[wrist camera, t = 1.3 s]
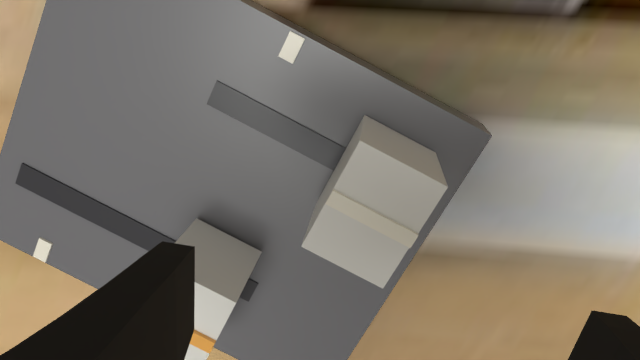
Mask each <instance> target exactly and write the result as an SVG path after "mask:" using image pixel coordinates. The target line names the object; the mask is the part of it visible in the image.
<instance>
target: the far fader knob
mask: <svg viewBox="0 0 640 360" xmlns="http://www.w3.org/2000/svg"><path fill="white" fill-rule="evenodd" d="M175 243H176V244H182V245H188V246H195V305H194V332H193V335H192V338H191V341H190V344H189V347H188V350H187V353H186V356H185V359H184V360H206V359H207V357H208V356H209V354H210V352H211V350H212V348H213V346H214V344H215V342H216V340H217V339H218V337H219V335H220V333H221V331H222V329H223V327H224V325H225V323H226V322H227V320H228V318H229V316H230V314H231V312H232V310H233V308H234V306H235V304H236V303H237V301H238V299H239V297H240V295H241V293H242V291H243V289H244V287H245V285H246V283H247V281H248V279H249V277H250V275H251V273H252V271H253V269H254V267H255V265H256V263H257V261H258V259H259V257H260V255H261V253H262V252H261V251H259V250H257V249H256V248H254V247H252V246H250V245H248V244H246V243H244V242H242V241H240V240H238V239H236V238H234V237H232V236H230V235H228V234H226V233H224V232H222V231H220V230H218V229H217V228H215V227H213V226H211V225H209V224H207V223H205V222H203V221H201V220H199V219H197V218H196V220H195V221H194V222H193V223H192V224H191V225H190V226H189V227H188V228H187V230H186V231H185V232H184V233H183V234H182V235H181V236H180V237H179V239H178V240H177V241H176V242H175Z"/></svg>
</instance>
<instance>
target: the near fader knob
mask: <svg viewBox="0 0 640 360" xmlns="http://www.w3.org/2000/svg"><path fill="white" fill-rule="evenodd" d="M447 188H448V185H447V183H446V180H445V177H444V174H443V172H442V169H441V166H440V163H439V161H438V158H437V155H436V153H435V152H433V151H432V150H430V149H428V148H426V147H424V146H422V145H420V144H418V143H417V142H415V141H413V140H411V139H409V138H407V137H405V136H403V135H401V134H400V133H398V132H396V131H394V130H392V129H390V128H388V127H386V126H385V125H383V124H381V123H379V122H377V121H375V120H373V119H371V118H369V117H368V116H366V115H364V117H363V119H362V121H361V122H360V124H359V126H358V128H357V130H356V131H355V133H354V135H353V137H352V139H351V141H350V142H349V144H348V146H347V148H346V150H345V152H344V153H343V155H342V157H341V159H340V161H339V162H338V164H337V166H336V168H335V170H334V172H333V173H332V175H331V177H330V179H329V181H328V183H327V184H326V186H325V188H324V190H323V192H322V193H321V195H320V197H319V199H318V201H317V203H316V205H315V208H314V211H313V214H312V217H311V219H310V222H309V225H308V228H307V231H306V234H305V237H304V240H303V243H302V245H301V247H303V248H305V249H307V250H309V251H311V252H313V253H314V254H316V255H318V256H320V257H322V258H324V259H326V260H328V261H330V262H332V263H334V264H336V265H338V266H340V267H342V268H344V269H345V270H347V271H349V272H351V273H353V274H355V275H357V276H359V277H361V278H363V279H365V280H367V281H369V282H371V283H373V284H375V285H377V286H378V287H380V288H382V289H383V288H384V286H385V285H386V283H387V282H388V280H389V279H390V277H391V275H392V274H393V272H394V271H395V269H396V268H397V266H398V265H399V263H400V261H401V260H402V258H403V257H404V255H405V254H406V252H407V250H408V249H409V248H411V247H412V245H413V244H414V242H415V241H416V239H417V237H418V236H419V235H418V233H419V232H420V230H421V229H422V227H423V225H424V224H425V222H426V221H427V219H428V218H429V216H430V214H431V213H432V211H433V210H434V208H435V207H436V205H437V204H438V202H439V200H440V199H441V197H442V196H443V194H444V193H445V191H446V189H447Z"/></svg>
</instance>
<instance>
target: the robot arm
mask: <svg viewBox="0 0 640 360" xmlns="http://www.w3.org/2000/svg"><path fill="white" fill-rule="evenodd" d="M194 305H195V246H188V245H182V244H176V243H170V242H164V241H162V242H161V243H159V244H158V245H156V246H155V247H154V248H152V249H151V250H150V251H148V252H147V253H146V254H144V255H143V256H142V257H140V258H139V259H138V260H136V261H135V262H134V263H132V264H131V265H130V266H129V267H127V268H126V269H125V270H123V271H122V272H121V273H119V274H118V275H117V276H115V277H114V278H113V279H111V280H110V281H109V282H107V283H106V284H105V285H103V286H102V287H101V288H99V289H98V290H97V291H95V292H94V293H92V294H91V295H90V296H88V297H87V298H85V299H84V300H83V301H81V302H80V303H79V304H77V305H76V306H74V307H73V308H72V309H70V310H69V311H67V312H66V313H65V314H63V315H62V316H60V317H59V318H57V319H56V320H54V321H53V322H51V323H50V324H48V325H47V326H45V327H44V328H42V329H41V330H39V331H38V332H36V333H35V334H33V335H32V336H30V337H29V338H27V339H26V340H24V341H22V342H21V343H19V344H18V345H16V346H15V347H13V348H12V349H10V350H9V351H7V352H5V353H4V354H2V355H0V360H184V359H185V356H186V353H187V350H188V347H189V344H190V341H191V338H192V335H193V332H194ZM568 360H640V327H639V326H638V325H637V324H636V323H635V322H633V321H632V320H631V319H630V318H628V317H627V316H623V315H616V314H610V313H604V312H598V311H591V314H590V316H589V318H588V320H587V322H586V324H585V326H584V328H583V330H582V332H581V334H580V336H579V338H578V340H577V342H576V344H575V346H574V348H573V350H572V352H571V354H570V357H569V359H568Z"/></svg>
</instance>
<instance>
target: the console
mask: <svg viewBox="0 0 640 360" xmlns="http://www.w3.org/2000/svg"><path fill="white" fill-rule="evenodd" d="M364 115H366V116H368V117H369V118H371V119H373V120H375V121H377V122H379V123H381V124H383V125H385V126H386V127H388V128H390V129H392V130H394V131H396V132H398V133H400V134H401V135H403V136H405V137H407V138H409V139H411V140H413V141H415V142H417V143H418V144H420V145H422V146H424V147H426V148H428V149H430V150H432V151H433V152H435V153H436V155H437V158H438V161H439V163H440V166H441V169H442V172H443V174H444V177H445V180H446V183H447V185H448V188H447V189H446V191H445V193H444V194H443V196H442V197H441V199H440V200H439V202H438V204H437V205H436V207H435V208H434V210H433V211H432V213H431V214H430V216H429V218H428V219H427V221H426V222H425V224H424V225H423V227H422V229H421V230H420V232H419V233H418V235H419V236H418V237H417V239H416V241H415V242H414V244H413V245H412V247H411V248H409V249H408V250H407V252H406V254H405V255H404V257H403V258H402V260H401V261H400V263H399V265H398V266H397V268H396V269H395V271H394V272H393V274H392V275H391V277H390V279H389V280H388V282H387V283H386V285H385V286H384V288H383V289H382V288H380V287H378V286H377V285H375V284H373V283H371V282H369V281H367V280H365V279H363V278H361V277H359V276H357V275H355V274H353V273H351V272H349V271H347V270H345V269H344V268H342V267H340V266H338V265H336V264H334V263H332V262H330V261H328V260H326V259H324V258H322V257H320V256H318V255H316V254H314V253H313V252H311V251H309V250H307V249H305V248H303V247H301V245H302V243H303V240H304V237H305V234H306V231H307V228H308V225H309V222H310V219H311V217H312V214H313V211H314V208H315V205H316V203H317V201H318V199H319V197H320V195H321V193H322V192H323V190H324V188H325V186H326V184H327V183H328V181H329V179H330V177H331V175H332V173H333V172H334V170H335V168H336V166H337V164H338V162H339V161H340V159H341V157H342V155H343V153H344V152H345V150H346V148H347V146H348V144H349V142H350V141H351V139H352V137H353V135H354V133H355V131H356V130H357V128H358V126H359V124H360V122H361V121H362V119H363V117H364ZM491 137H492V135H491V134H490V132H489V131H488V130H487V129H486V128H485V127H484V125H483V124H481V123H479V122H477V121H475V120H474V119H472V118H470V117H468V116H466V115H464V114H462V113H460V112H459V111H457V110H455V109H453V108H451V107H449V106H447V105H446V104H444V103H442V102H440V101H438V100H436V99H434V98H432V97H431V96H429V95H427V94H425V93H423V92H421V91H419V90H418V89H416V88H414V87H412V86H410V85H408V84H406V83H404V82H403V81H401V80H399V79H397V78H395V77H393V76H391V75H390V74H388V73H386V72H384V71H382V70H380V69H378V68H377V67H375V66H373V65H371V64H369V63H367V62H365V61H363V60H362V59H360V58H358V57H356V56H354V55H352V54H350V53H349V52H347V51H345V50H343V49H341V48H339V47H337V46H335V45H334V44H332V43H330V42H328V41H326V40H324V39H322V38H321V37H319V36H317V35H315V34H313V33H311V32H309V31H307V30H306V29H304V28H302V27H300V26H298V25H296V24H294V23H293V22H291V21H289V20H287V19H285V18H283V17H281V16H279V15H278V14H276V13H274V12H272V11H270V10H268V9H266V8H265V7H263V6H261V5H259V4H257V3H255V2H253V1H251V0H47V1H46V4H45V7H44V11H43V14H42V17H41V21H40V24H39V27H38V31H37V34H36V37H35V41H34V44H33V47H32V51H31V54H30V57H29V61H28V64H27V67H26V71H25V74H24V77H23V80H22V84H21V87H20V90H19V94H18V97H17V100H16V104H15V107H14V110H13V114H12V117H11V120H10V124H9V127H8V130H7V134H6V137H5V140H4V144H3V147H2V150H1V154H0V240H1V241H3V242H5V243H7V244H9V245H11V246H13V247H15V248H17V249H19V250H21V251H23V252H25V253H27V254H29V255H31V256H33V257H35V258H37V259H39V260H41V261H43V262H45V263H47V264H49V265H51V266H53V267H55V268H57V269H59V270H61V271H63V272H65V273H67V274H69V275H71V276H73V277H75V278H77V279H79V280H81V281H83V282H85V283H87V284H89V285H91V286H93V287H95V288H97V289H99V288H101V287H102V286H103V285H105V284H106V283H107V282H109V281H110V280H111V279H113V278H114V277H115V276H117V275H118V274H119V273H121V272H122V271H123V270H125V269H126V268H127V267H129V266H130V265H131V264H132V263H134V262H135V261H136V260H138V259H139V258H140V257H142V256H143V255H144V254H146V253H147V252H148V251H150V250H151V249H152V248H154V247H155V246H156V245H158V244H159V243H161V242H162V241H164V242H170V243H175V242H176V241H177V240H178V239H179V237H180V236H181V235H182V234H183V233H184V232H185V231H186V230H187V228H188V227H189V226H190V225H191V224H192V223H193V222H194V221H195V220H196V218H197V219H199V220H201V221H203V222H205V223H207V224H209V225H211V226H213V227H215V228H217V229H218V230H220V231H222V232H224V233H226V234H228V235H230V236H232V237H234V238H236V239H238V240H240V241H242V242H244V243H246V244H248V245H250V246H252V247H254V248H256V249H257V250H259V251H261V252H262V253H261V255H260V257H259V259H258V261H257V263H256V265H255V267H254V269H253V271H252V273H251V275H250V277H249V279H248V281H247V283H246V285H245V287H244V289H243V291H242V293H241V295H240V297H239V299H238V301H237V303H236V304H235V306H234V308H233V310H232V312H231V314H230V316H229V318H228V320H227V322H226V323H225V325H224V327H223V329H222V331H221V333H220V335H219V337H218V339H217V340H216V342H215V344H214V346H213V347H214V348H216V349H218V350H220V351H222V352H224V353H226V354H228V355H230V356H232V357H234V358H236V359H238V360H347V359H348V357H349V356H350V354H351V353H352V351H353V350H354V348H355V347H356V345H357V344H358V342H359V340H360V339H361V337H362V336H363V334H364V333H365V331H366V330H367V328H368V327H369V325H370V323H371V322H372V320H373V319H374V317H375V316H376V314H377V313H378V311H379V310H380V308H381V307H382V305H383V303H384V302H385V300H386V299H387V297H388V296H389V294H390V293H391V291H392V290H393V288H394V286H395V285H396V283H397V282H398V280H399V279H400V277H401V276H402V274H403V273H404V271H405V269H406V268H407V266H408V265H409V263H410V262H411V260H412V259H413V257H414V256H415V254H416V252H417V251H418V249H419V248H420V246H421V245H422V243H423V242H424V240H425V239H426V237H427V235H428V234H429V232H430V231H431V229H432V228H433V226H434V225H435V223H436V222H437V220H438V218H439V217H440V215H441V214H442V212H443V211H444V209H445V208H446V206H447V205H448V203H449V202H450V200H451V198H452V197H453V195H454V194H455V192H456V191H457V189H458V188H459V186H460V185H461V183H462V181H463V180H464V178H465V177H466V175H467V174H468V172H469V171H470V169H471V168H472V166H473V164H474V163H475V161H476V160H477V158H478V157H479V155H480V154H481V152H482V151H483V149H484V147H485V146H486V144H487V143H488V141H489V140H490V138H491Z"/></svg>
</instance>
